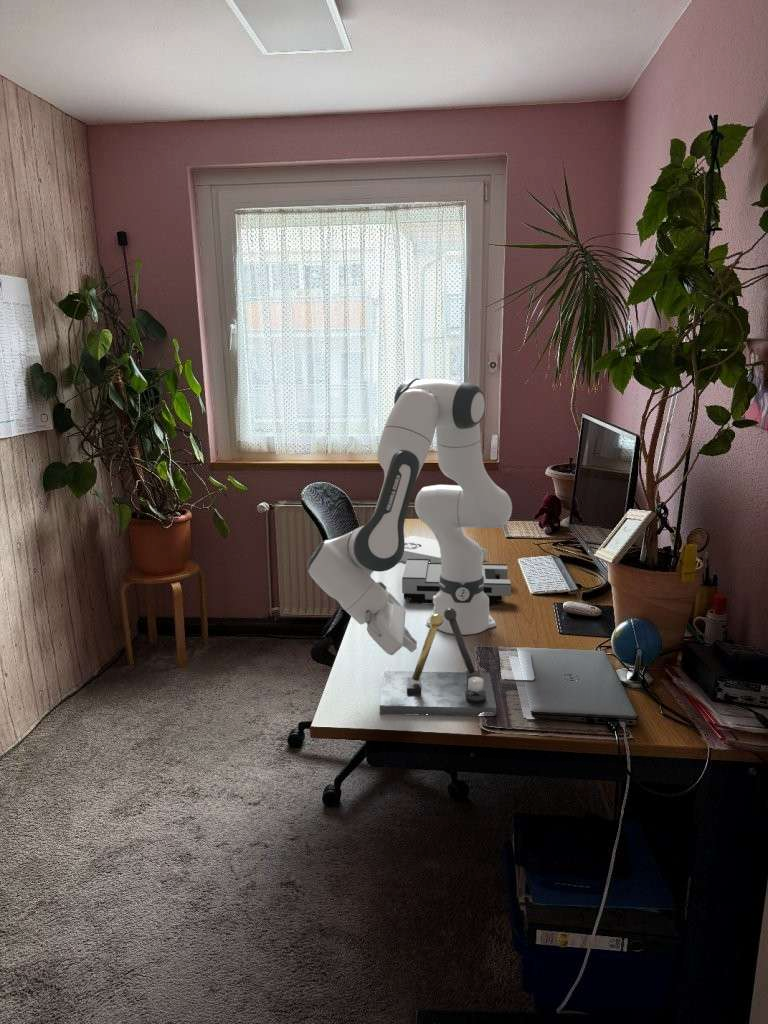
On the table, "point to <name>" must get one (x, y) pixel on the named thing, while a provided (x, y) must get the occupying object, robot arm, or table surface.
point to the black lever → (459, 638)
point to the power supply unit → (424, 549)
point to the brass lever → (427, 645)
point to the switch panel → (435, 694)
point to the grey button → (475, 684)
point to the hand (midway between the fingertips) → (414, 647)
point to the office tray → (425, 576)
